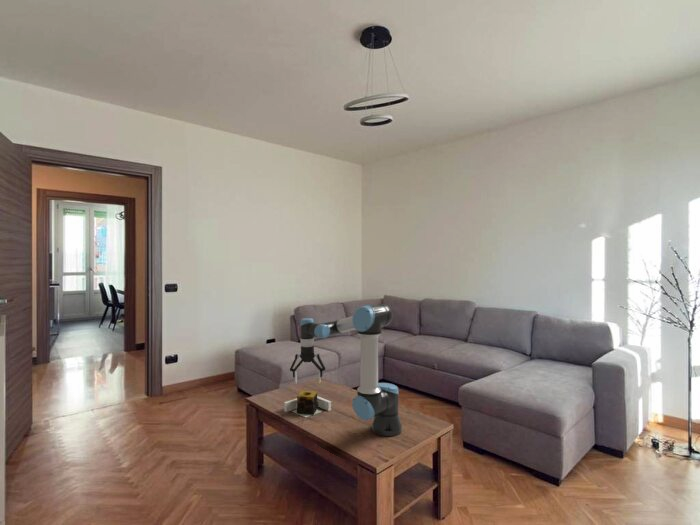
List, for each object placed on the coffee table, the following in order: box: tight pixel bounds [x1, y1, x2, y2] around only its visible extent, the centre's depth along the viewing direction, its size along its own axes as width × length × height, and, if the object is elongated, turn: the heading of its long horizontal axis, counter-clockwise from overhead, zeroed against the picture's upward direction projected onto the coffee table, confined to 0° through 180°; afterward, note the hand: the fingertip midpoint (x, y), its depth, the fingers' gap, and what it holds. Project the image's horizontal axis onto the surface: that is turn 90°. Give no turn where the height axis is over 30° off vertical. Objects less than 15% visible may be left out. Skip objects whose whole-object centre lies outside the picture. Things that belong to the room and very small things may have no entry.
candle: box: [296, 390, 319, 416], centre depth 218 cm, size 10×10×10 cm
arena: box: [283, 395, 332, 413], centre depth 219 cm, size 18×20×5 cm
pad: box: [292, 408, 323, 418], centre depth 218 cm, size 12×12×1 cm
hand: (307, 383), depth 218 cm, fingers open, 13 cm apart
